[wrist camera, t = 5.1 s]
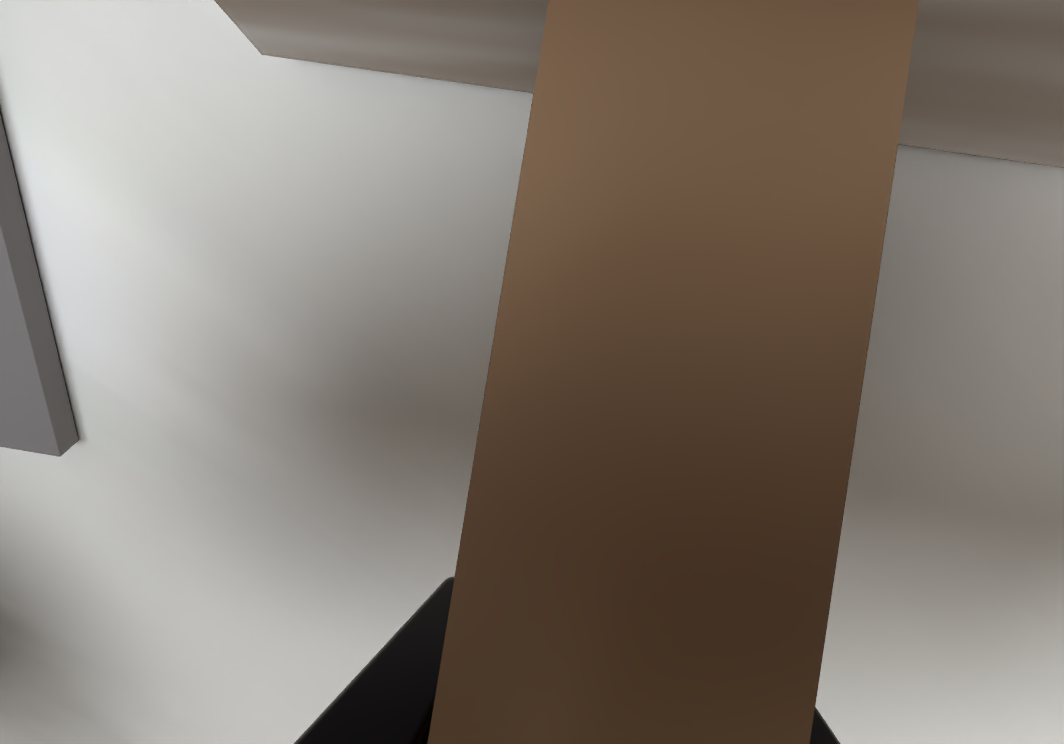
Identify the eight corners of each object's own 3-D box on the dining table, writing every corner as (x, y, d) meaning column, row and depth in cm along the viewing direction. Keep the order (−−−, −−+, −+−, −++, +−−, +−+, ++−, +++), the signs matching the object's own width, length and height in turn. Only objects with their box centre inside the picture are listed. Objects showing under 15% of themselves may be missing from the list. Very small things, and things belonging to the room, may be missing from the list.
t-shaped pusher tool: (998, 942, 10) (1614, 1714, 4) (135, 777, 11) (-400, 1244, 5) (1118, 67, 11) (1846, -372, 5) (279, -46, 11) (-53, -563, 5)
